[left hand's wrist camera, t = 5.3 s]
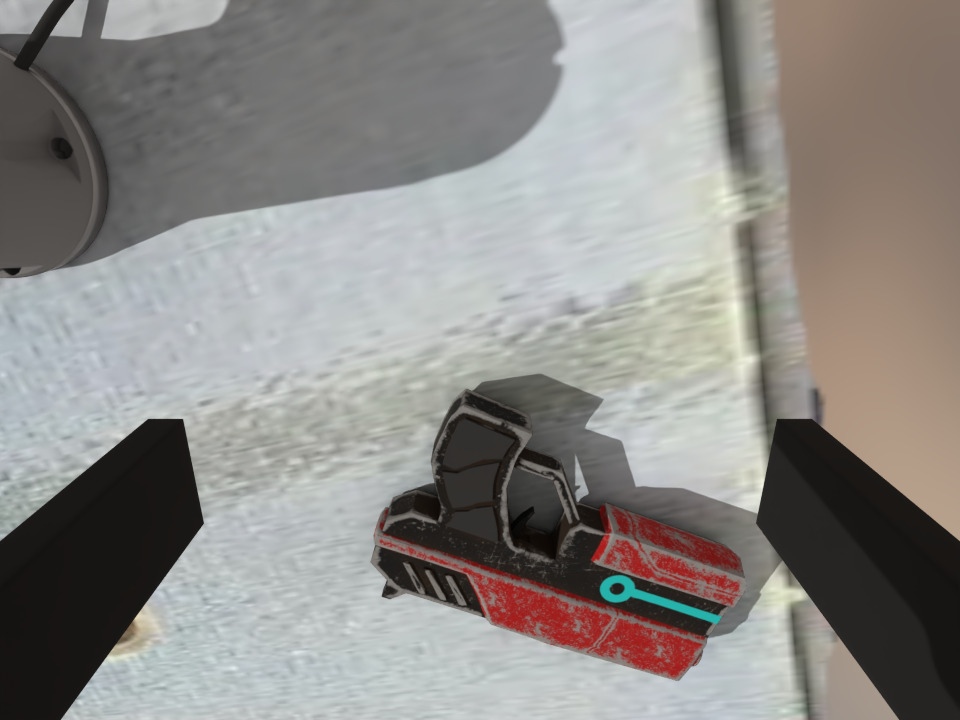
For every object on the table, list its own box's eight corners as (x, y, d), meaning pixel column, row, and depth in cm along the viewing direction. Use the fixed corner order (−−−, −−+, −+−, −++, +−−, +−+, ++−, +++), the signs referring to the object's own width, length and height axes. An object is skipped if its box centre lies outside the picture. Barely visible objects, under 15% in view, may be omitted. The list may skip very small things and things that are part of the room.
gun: (426, 397, 41) (351, 593, 48) (804, 530, 45) (685, 696, 51) (433, 373, 45) (363, 556, 52) (777, 495, 49) (670, 653, 56)
